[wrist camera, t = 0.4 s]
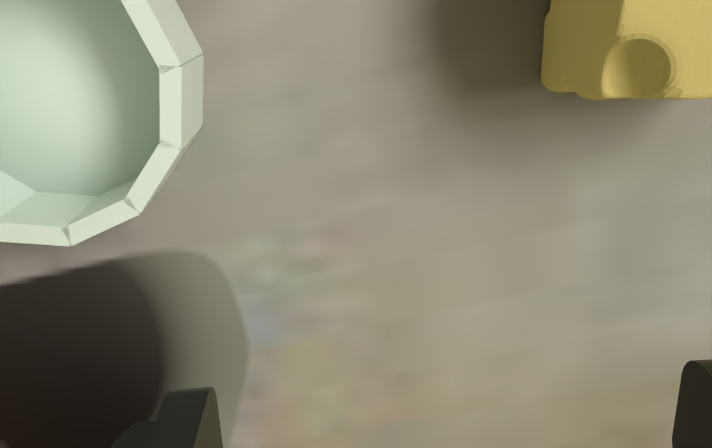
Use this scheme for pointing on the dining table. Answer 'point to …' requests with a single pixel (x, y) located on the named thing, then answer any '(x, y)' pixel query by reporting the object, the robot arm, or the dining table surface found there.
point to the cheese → (629, 49)
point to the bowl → (91, 112)
